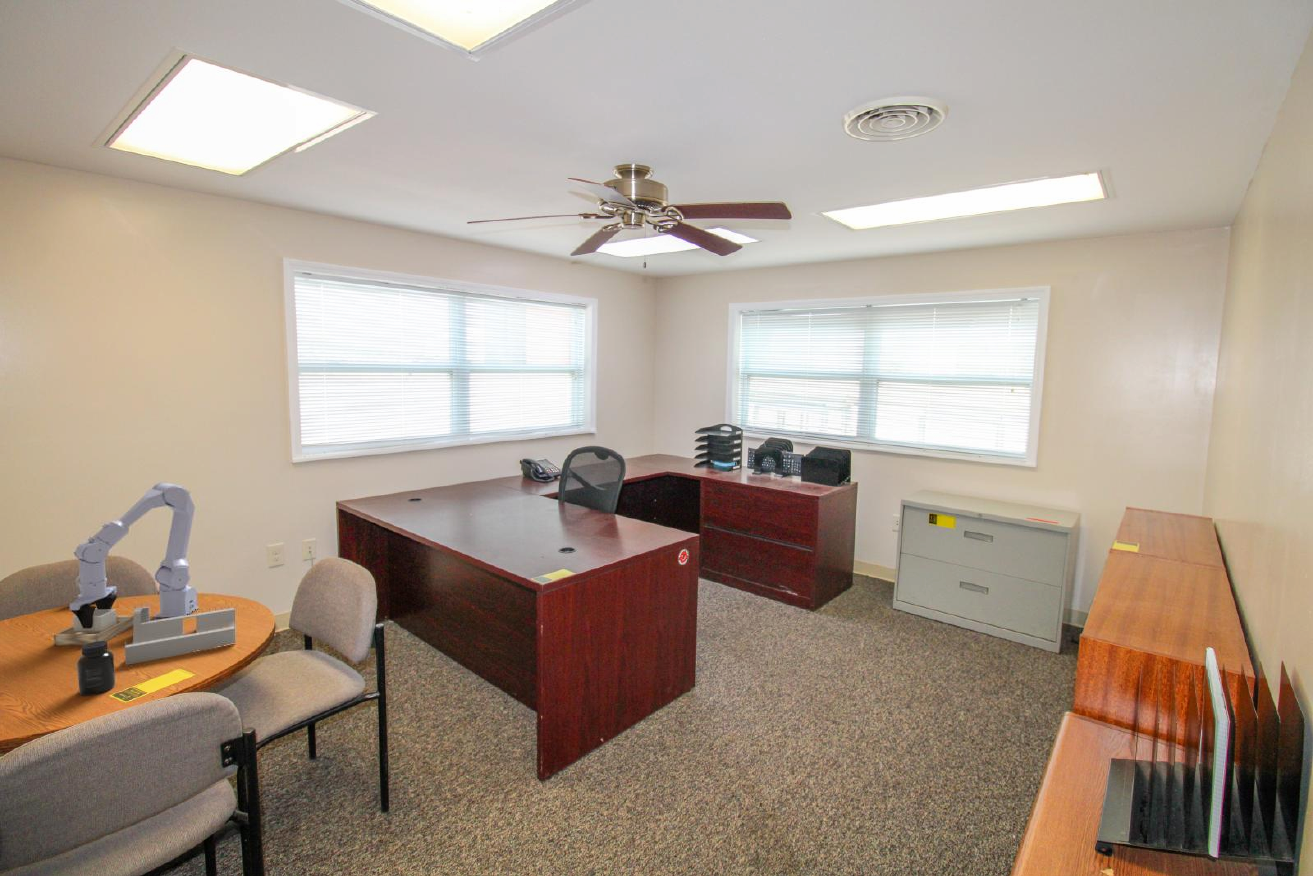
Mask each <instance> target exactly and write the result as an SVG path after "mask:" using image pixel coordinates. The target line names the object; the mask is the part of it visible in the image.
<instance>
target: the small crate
mask: <svg viewBox="0 0 1313 876" xmlns="http://www.w3.org/2000/svg"><path fill="white" fill-rule="evenodd" d="M116 616H117V610H116V609H115V608H114V609H112V608H111V609H97V608H95V611H94V614H93V625H92V628H83V627H82V625H81V623H80V621H79V619H78V617H77V616H76V615H75V614H74V615H72V626H73V630H74V632H96V633H101V632H102V631H104V630H106V629H108V628H110V627H112V626H114V625H116V624H117V621H116Z"/></svg>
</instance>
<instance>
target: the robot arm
mask: <svg viewBox="0 0 1313 876" xmlns="http://www.w3.org/2000/svg"><path fill="white" fill-rule="evenodd" d="M190 493H191V492H190V491H189V490H188V489H186V488H185V487H184V486H182V485H179V484H173V483H169V482H165V481H164V482H162V481H161V482H158V483H156V484H154V486H153V487H152V488H150V489H148V490H147V491H146V493H144V495H143V497H141V498H140V499H139V500H138V501H137V502H136V503H135V504H134V505H132V507H131V508H130V509H129V510H127V512H126V513H125V514H123V515H122V516H121V517H120V518H119V519H117V520H112V521H109V522H108V523H104V524H103V525H102V526H101V527H102V528H101V529H100V530H99V531H97V532H96V534H93V536H90V537H89V538H87V541H86V540H85V541H84V542H81V543H80V544H79V545H78V546H77V547H76V548H75V549H76V550H74V552H73V554H74V556H75V558H76V559H78V566H79V567H78V569H79V571H78V572H79V574H78V575H80V578H79V584H80V589H81V591H80V594H78V595H77V599H76V600H74V601H72V602H70V603H69V611H70V612H72V613H73V614H74V616H75V615H76V616H77V617H78V619H79V621H80V623H81V625H82V627H83V628H92V625H93V614H94V611H95V609H112V608H113V606H114V603H115V601H116V600H117V598H118V597H117V594H116V593H118V591H117V590H118V588H117V586H114V585H113V586H111V585H109V586H108V587H107V581H106V578H107V577H106V574H107V573H106V563H105V559H106V558H107V557H108V555H109V551H110V550H111V549H112V548H113V547H114V546H116V544H118V542H120V541H121V540H122V539H123V538H125V537H126V536H127V535H128V534H129V529H130V527H131V526H132V525H133V524H135V522H137V521H138V520H139V519H141V518H142V517H143V516H145V515H146V514H148V512H150V511H151V510H152V509H156V508H163V507H166V506H167V507H168V508H169V509H171V511H173V515H172V519H171V526H170V531H169V537H168V542H167V547H166V551H165V552H166V553H165V557H164V559H162V560H161V562H160V564H159V567H158V569H157V570H156V571H155V574H154V580H155V581H156V583H158V584H159V587H158V593H159V597H158V598H159V612H158V613H156V614H153V616H152V618H161V617H162V616H161V615H163V618H169V615H168V614H170V618H172V617H176V616H177V617H179V616H185V615H187V614H188V615H189V613H190V614H192V613H193V612H195V611H196V610H199V608H200V607H199V606H198V594H197V593H198V591H197V589H196V588H195V587H194V586H193V587H192V586H189V585H188V584H189V582H190V580H191V574H190V572H189V568H190V566H189V563H188V561H187V558H186V557H187V553H188V546H189V542H190V536H191V535H190V534H191V530H192V525H193V521H194V520H193V519H194V513H195V509H196V508H195V504H194V502H193V500H192V498H191V494H190ZM92 602H95V604H94V605H93V606H92V605H91V604H89V603H92ZM195 609H196V610H195ZM194 610H195V611H194ZM187 611H188V612H187ZM192 611H193V612H192ZM181 612H182V613H181ZM174 613H175V614H174ZM186 613H187V614H186ZM180 614H181V615H180ZM174 615H175V616H174ZM155 616H156V617H155ZM167 616H168V617H167Z"/></svg>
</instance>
